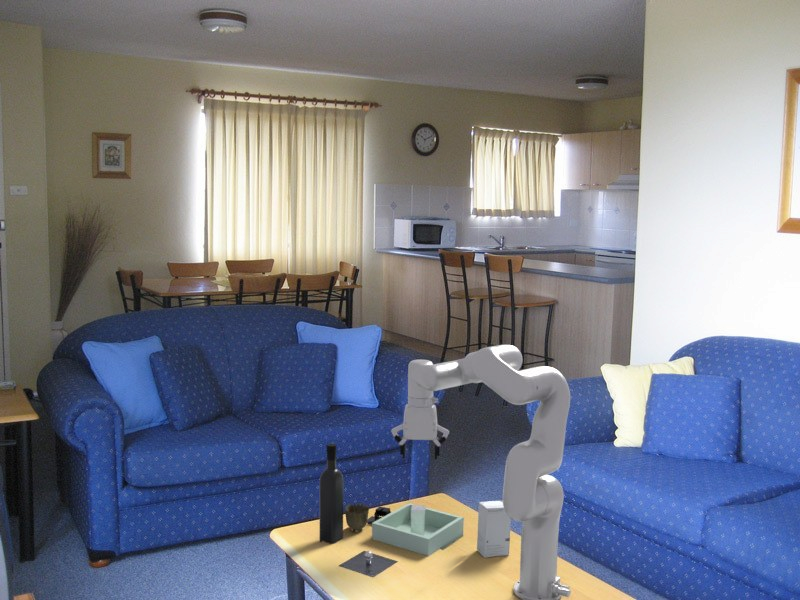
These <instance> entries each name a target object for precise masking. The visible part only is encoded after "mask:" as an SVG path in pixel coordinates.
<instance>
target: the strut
mask: <svg viewBox="0 0 800 600" xmlns="http://www.w3.org/2000/svg"><path fill="white" fill-rule="evenodd" d="M425 507H426V504H415V505H412V508H411V532H412V533H416V534H419V535H423V536H425Z"/></svg>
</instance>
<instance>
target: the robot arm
mask: <svg viewBox="0 0 800 600" xmlns="http://www.w3.org/2000/svg"><path fill="white" fill-rule="evenodd" d="M523 361H524V360H523V355H522V352H521V351H520V350H519V349H518V347H516V346H514V345H511V344H499V345H491V346H486V347H482V348H480V349H479V350H476V351H473V352H470V353H468V354H467V355H466V356H465V357H464V358H459V359H456V360H451V361H443V362H438V363H433V361H431V360H429V359H419V358H418V359H413V360H411V361H410V362H409V363H408V366H407V368H408V369H407V370H408V371H407V373H408V374H407V380H408V381H407V404H405V407H404V410H403V411H404V413H403V422H402V423H401V424H399V425H397V426H396V427H393V428H392V429H391V431H390V432H391V434H392V436H393V438H394V440H395V441H396V442H397V443H398V445H399V446H400V447H399V452H400V453H399V455H401V456H402V459H405V458H406V447H407V446H406V442H407V441H408V440H409V441H410V440H414V441H415V440H416V441H417V440H418V441H432V442H433V443H434V460H437V459H438V457H439V456H440V453H441V452H440V451H441V450H440V449H441V448H440V447H441V446H442V444H443V443H445V442H446V440H447V439H448V436H449V434H450V430H449V429H447V428H445V427H443V426H441V425H439V424H438V412H437V406H436V405H435V404H436V403H439V398H438V397H435V396H434V392H436V391H441V390H445V389H450V388H455V387H459V386H463V385H468V384H472V383H473V384H479V383H484V385H485V386H487V387H488V388H490V389H491V390H492V391H493V392H495V393H496V394H497V395H498V396H500V397H501V398H502V399H503V400H505V401H506V402H508V403H509V404H512V405H516V406H521V405H523V406H524V405H527V404H529V403H534V402H538V401H539V404H538V407H537V408H536V411H535V412H534V415H533V418H532V425H531V426H532V427H531V432H530V437H529V439H528V440H525V441H522V442H519V443H516V444H515V445H514V446H513V447H512V448H511V449H510V451H508V454H507V456H506V460H505V469H504V476H503V477H504V478H503V488H502V501H503V506H504V509H505V512H506V514H507V515H508V516H509V517H510V518H511V521H515V522H518V523H520V522H521V523H522V524H521V533H520V534H521V535H520V561H519V565H520V566H519V579H518V580H516V582H514V585H513V593H514V594H515V595H516V596H517V597H518V598H520V599H522V600H560V599H561V598H562V597H565V598H570V596H571V592H572V591H571V590H570V585H568V584H567V585H566V584H562V582H561V577H560V576H558V549H559V547H558V546H559V533H560V532H559V531H560V530H559V529H560V520H561V519H560V518H561V514H562V508H563V505H564V495H565V493H564V489H563V486H562V484H561V482H560V481H559V480H558V479H557V478H556V477H555V476H553V475H550V474H552V473H555V472H556V471H557V470H559V469H560V468H561V466H562V463H563V457H564V448H565V440H566V430H567V421H568V416H569V411H570V404H571V391H570V386H569V384H568V382H567V379H566V377H565V376H564V375H563V374H562V373H561V372H560V370H558V369H556V368H555V367H551V366H547V365H543V366H534V367H530V368H526V369H520V368H521V367H522V365H523ZM399 431H402V434H403V436H402V437H401V436H400V435H399V434H398V432H399ZM438 431H439V432H441V433H442V434H443V435H442V436H441V437H440V438H439V437H438V436H437V435H438Z"/></svg>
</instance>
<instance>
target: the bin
mask: <svg viewBox="0 0 800 600" xmlns="http://www.w3.org/2000/svg"><path fill="white" fill-rule="evenodd" d="M412 505H416V504H414V503H410V502H408V503H407V504H405V505H403V506H401V507H399V508H397V509H395V510H393V511H391V513H390V514H388V515H386V516H384V517H382V516H381V517H382V518H380V519H379V520H377V521H375V522H373V523H372V524H371V540H374V541H378V542H381V543H384V544H388V545H390V546H394V547H396V548H397V547H398V548H400V549H403V550H408V551H411V552H413V553H416V554H420V555H424V556H427V557H429V556H432V555H433V554H434V553H436V552H437V551H438V550H442V551H443V550H444V549H446V548H447V547H449V546H450V545H452V544H454V543H455V542H457V541H458V540H460V539H461V538H463V537H464V518H465V517H464V516H459V515H456V514H452V513H449V512H445V511H442V510H438V509H433V508H430V507H426V506H425V536H423V535H419V534H416V533H412V532H411V508H412Z"/></svg>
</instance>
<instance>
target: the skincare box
mask: <svg viewBox="0 0 800 600" xmlns="http://www.w3.org/2000/svg"><path fill="white" fill-rule="evenodd" d="M477 513H478V516H477V518H478V519H477V540H476V550H477V552H479V554H480V556H482V557H483V558H484V559H486V558H493V557H500V556H503V557H504V556H509V555H510V544H511V543H510V542H511V525H512V524H511V523H512V519H511V518H510V517H509V516H508V515H507V514H506V512H505V509H504V506H503V500H490V501H478V512H477Z"/></svg>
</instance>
